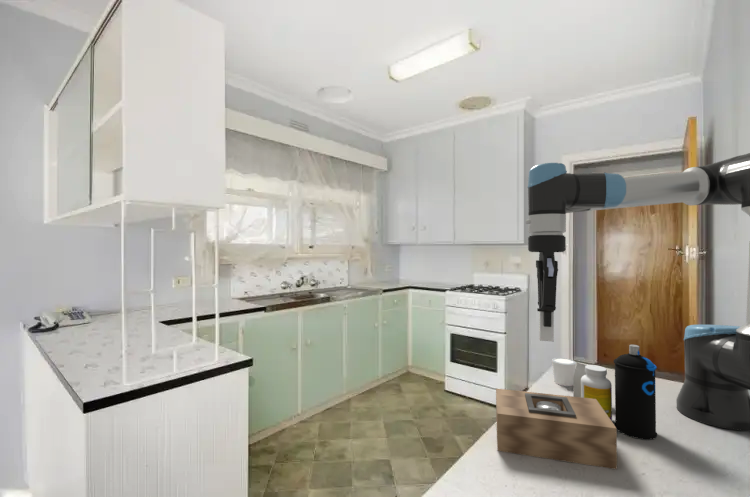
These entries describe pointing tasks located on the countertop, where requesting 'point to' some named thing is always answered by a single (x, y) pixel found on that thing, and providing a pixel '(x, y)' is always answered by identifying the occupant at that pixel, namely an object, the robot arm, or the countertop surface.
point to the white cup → (563, 371)
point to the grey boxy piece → (578, 379)
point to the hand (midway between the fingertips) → (546, 340)
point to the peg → (548, 405)
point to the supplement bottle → (597, 387)
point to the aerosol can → (635, 395)
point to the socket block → (555, 428)
